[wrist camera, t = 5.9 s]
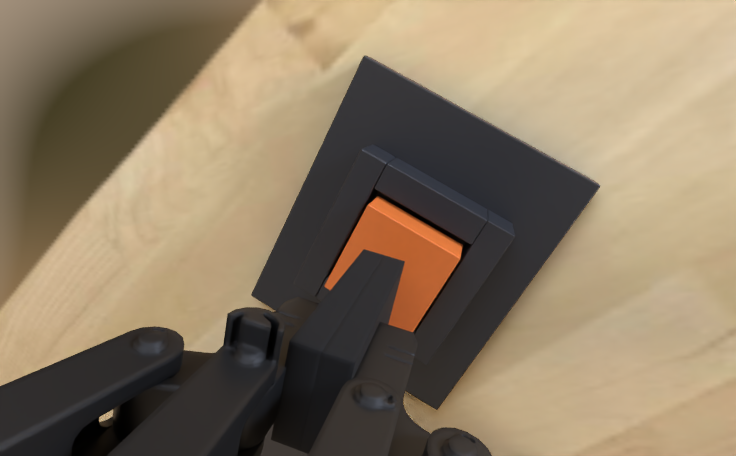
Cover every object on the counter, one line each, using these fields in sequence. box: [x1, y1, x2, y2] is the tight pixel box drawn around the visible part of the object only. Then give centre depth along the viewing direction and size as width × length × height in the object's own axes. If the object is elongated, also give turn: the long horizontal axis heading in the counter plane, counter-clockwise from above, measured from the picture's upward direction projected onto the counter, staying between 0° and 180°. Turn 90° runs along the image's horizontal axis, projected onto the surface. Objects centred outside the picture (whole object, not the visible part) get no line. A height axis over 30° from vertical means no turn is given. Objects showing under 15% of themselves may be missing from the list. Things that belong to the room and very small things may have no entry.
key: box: [324, 196, 463, 332], centre depth 19 cm, size 4×4×2 cm
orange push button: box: [252, 56, 600, 410], centre depth 20 cm, size 13×11×3 cm
